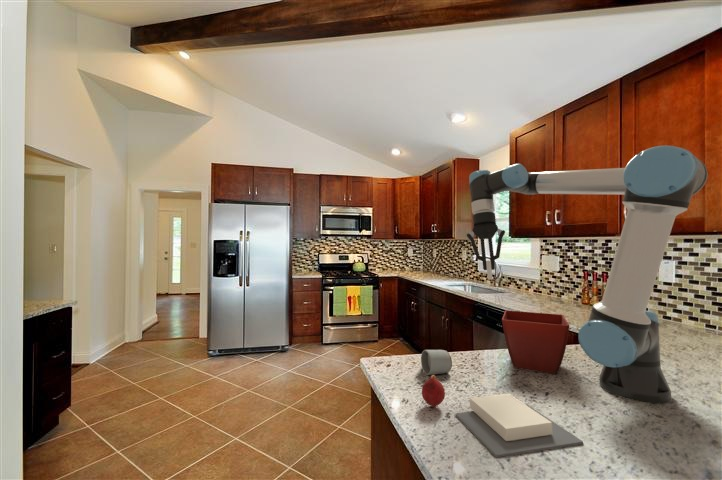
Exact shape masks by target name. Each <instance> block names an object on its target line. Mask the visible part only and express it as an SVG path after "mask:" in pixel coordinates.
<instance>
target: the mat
mask: <svg viewBox="0 0 722 480" xmlns="http://www.w3.org/2000/svg"><path fill="white" fill-rule="evenodd" d="M525 405H527V406H528V407H530V408H531V409H533V410H534V411H536V412H537V413H539V414H540V415H542V416H543V417H545V418H546V419H548V420H549V421H551V422H552V435H545V436H539V437H532V438H525V439H518V440H512V441H506V440H504V439H503V438H502V437H501V436H500V435H499V434H498V433H497V432H496V431H495V430H493V429H492V428H491V427H490V426H489V425H488V424H487V423H486V422H485V421H484V420H482V419H481V418H480V417H479V416H478V415H477V414H476V413H475V412H474V411H473V410H471V411H470V410H469V411H463V412H455V413H454V415H455V417H456V418H457V419H458V420H459V421H460V422H461V423H462V424H463V425H464V426H465V427H466V428H467V429H468V431H470V432H471V434H472V435H474V437H475V438H477V440H479V442H481V444H482V445H483V446H484V447H485V448H486V449H487V450H488V452H490V453H491V454H492V455H493V457H495V458H496V459H497V458H503V457H504V458H505V457H509V456H516V455H522V454H528V453H534V452H541V451H548V450H553V449H560V448H566V447H571V446H572V447H573V446H579V445H583V444H584V441H583V440H581V438H579V437H578V436H576V435H574V434H573V433H571V432H570V431H568V430H567V429H565V428H563V427H562V426H560V425H559V424H558V423H556V422H555V421H553V420H551V419H550V418H549V417H547V416H545V415H544V414H543V413H541V412H540V411H538V410H536V409H535V408H533V407H532V406H530V405H529V404H528V403H527V404H526V403H525Z"/></svg>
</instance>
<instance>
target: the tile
mask: <svg viewBox="0 0 722 480" xmlns="http://www.w3.org/2000/svg"><path fill="white" fill-rule="evenodd" d="M527 405H528V404H527ZM527 405H526V403H524V402H522V401H521V400H519V399H517V398H516V397H514V396H513V395H512V394H511V393H499V394H492V395H484V396H481V395H480V396H475V397H474V396H473V397H469V409H470V410H471V411H474V412H475V413H476V414H477V415H478V416H479V417H480V418H481V419H482V420H484V421H485V422H486V423H487V424H488V425H489V426H490V427H491V428H492V429H493V430H495V431H496V432H497V433H498V434H499V435H500V436H501V437H502V438H503V439H504V440H506V441H512V440H518V439H525V438H532V437H539V436H545V435H552V422H551V421H552V420H551V421H549V420H548V419H549V418H548V419H546V418H545V417H546V416H545V417H543V416H542V415H543V414H542V415H540V414H539V413H540V412H539V413H537V412H536V411H537V410H536V411H534V410H533V409H534V408H533V409H531V408H530V407H531V406H530V407H528V406H527Z"/></svg>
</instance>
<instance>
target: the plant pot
mask: <svg viewBox="0 0 722 480" xmlns="http://www.w3.org/2000/svg"><path fill="white" fill-rule="evenodd" d="M503 313H504V314H503V316H502V318H501V322H502V329H503V334H504V338H505V339H504V340H505V343H506V347H507V348H506V349H507V351H508V354H509V359H510V361H511V364H512V365H513V368H515V369H519V370H526V371H533V372H538V373H544V374H545V373H546V374H551V375H558V374H559V371H560V369H561V367H562V366H561V365H562V363H563V360H564V356H565V352H566V349H567V344H568V339H569V334H570V333H569V331H570V324H569V322H568V320H567V319H566V317H565V315H563V314H558V313H557V314H556V313H547V312H543V313H542V312H532V311H521V310H506V309H505V310H504V312H503Z"/></svg>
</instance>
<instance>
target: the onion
mask: <svg viewBox="0 0 722 480" xmlns="http://www.w3.org/2000/svg"><path fill="white" fill-rule="evenodd" d="M421 396H422V399H423V401H424V402H425V403H426V404H427V405H429V407H431V408H436V407H438V406H439V405H440V404H442V403H443V401H444V400H445V398H446V391H445V388H444V385H443V383H441V382H440V381H439V380H438V379H437V377H436V374H434V375H430V378H428V379H427V380H426V381H424V383H423V385H422V387H421Z"/></svg>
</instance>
